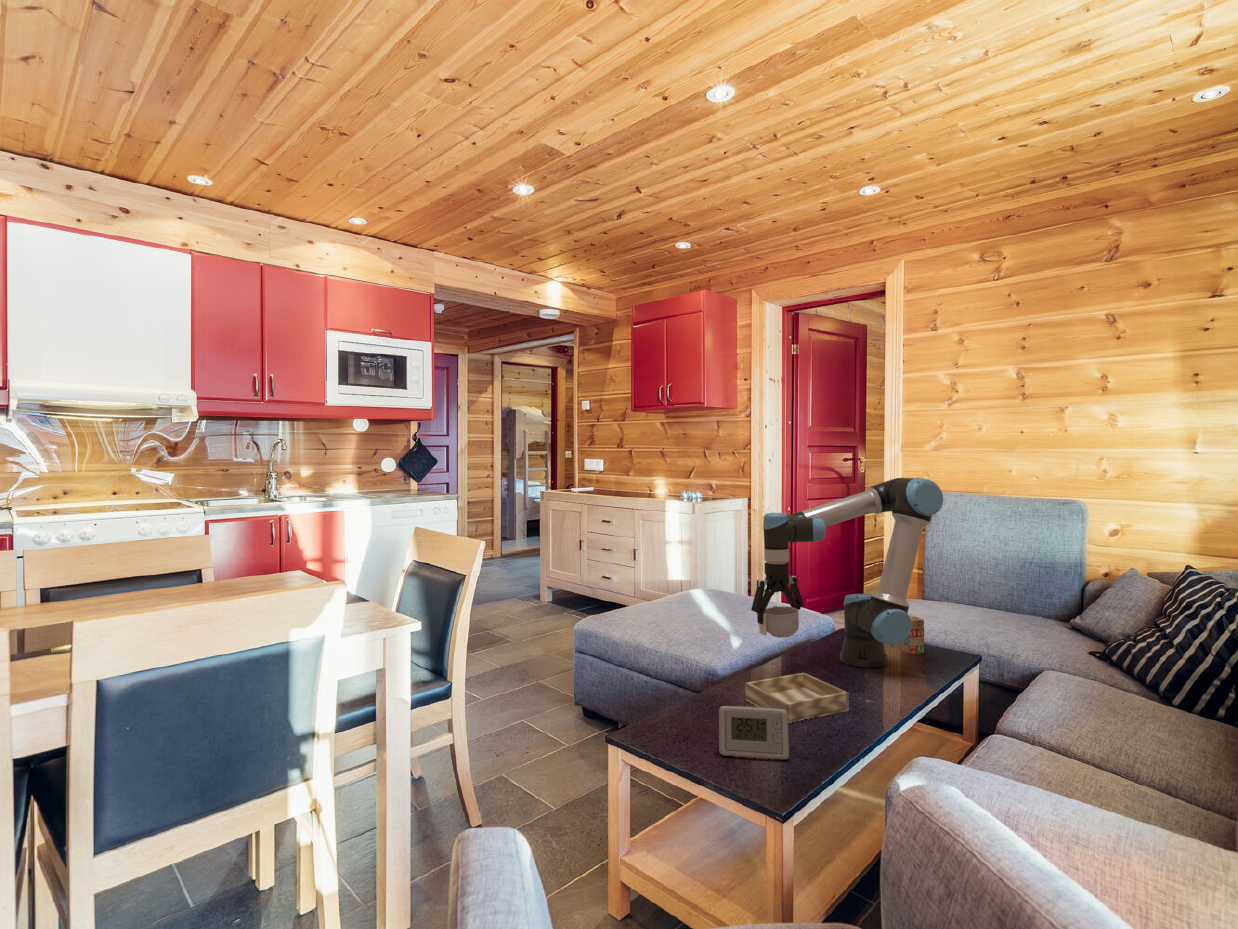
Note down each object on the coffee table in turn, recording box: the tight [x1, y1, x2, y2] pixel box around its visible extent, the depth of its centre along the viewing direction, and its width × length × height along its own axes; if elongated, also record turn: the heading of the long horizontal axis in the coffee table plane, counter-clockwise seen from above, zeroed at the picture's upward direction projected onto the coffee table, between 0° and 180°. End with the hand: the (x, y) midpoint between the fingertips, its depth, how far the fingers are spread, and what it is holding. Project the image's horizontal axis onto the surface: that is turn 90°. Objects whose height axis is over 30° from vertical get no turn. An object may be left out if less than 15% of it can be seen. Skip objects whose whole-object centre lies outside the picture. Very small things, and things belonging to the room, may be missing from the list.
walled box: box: [744, 672, 850, 724], centre depth 180 cm, size 21×19×5 cm
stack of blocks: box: [888, 613, 925, 655], centre depth 237 cm, size 21×6×12 cm, turn 11°
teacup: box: [764, 605, 800, 638], centre depth 201 cm, size 14×11×8 cm
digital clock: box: [718, 705, 790, 761], centre depth 151 cm, size 16×9×11 cm, turn 67°
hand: (778, 631), depth 200 cm, fingers closed on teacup, 11 cm apart
